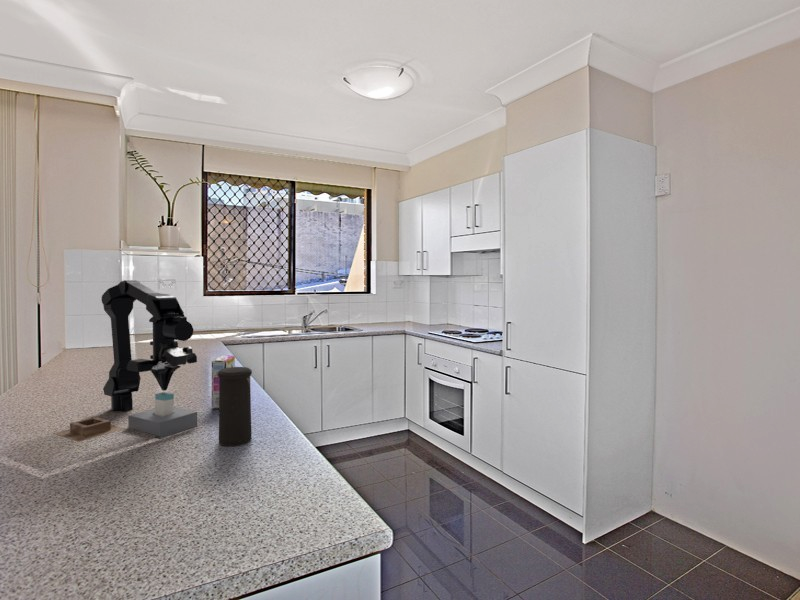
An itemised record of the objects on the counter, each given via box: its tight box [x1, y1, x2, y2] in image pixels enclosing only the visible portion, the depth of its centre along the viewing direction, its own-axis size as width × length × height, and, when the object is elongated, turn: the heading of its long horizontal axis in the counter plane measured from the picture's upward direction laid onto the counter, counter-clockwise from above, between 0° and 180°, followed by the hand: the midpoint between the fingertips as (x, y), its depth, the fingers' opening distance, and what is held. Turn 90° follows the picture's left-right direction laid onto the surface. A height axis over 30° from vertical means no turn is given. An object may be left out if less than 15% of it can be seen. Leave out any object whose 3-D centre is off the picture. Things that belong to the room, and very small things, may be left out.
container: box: [218, 366, 253, 447], centre depth 124 cm, size 9×9×20 cm
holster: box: [55, 416, 126, 442], centre depth 129 cm, size 12×12×4 cm
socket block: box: [127, 406, 198, 440], centre depth 134 cm, size 14×12×4 cm
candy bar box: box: [211, 355, 236, 410], centre depth 159 cm, size 11×5×16 cm, turn 5°
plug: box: [154, 391, 175, 417], centre depth 134 cm, size 4×3×10 cm
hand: (164, 390), depth 137 cm, fingers closed
